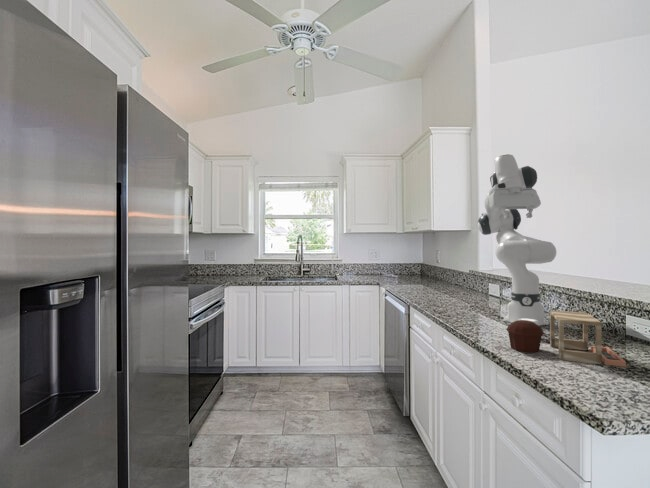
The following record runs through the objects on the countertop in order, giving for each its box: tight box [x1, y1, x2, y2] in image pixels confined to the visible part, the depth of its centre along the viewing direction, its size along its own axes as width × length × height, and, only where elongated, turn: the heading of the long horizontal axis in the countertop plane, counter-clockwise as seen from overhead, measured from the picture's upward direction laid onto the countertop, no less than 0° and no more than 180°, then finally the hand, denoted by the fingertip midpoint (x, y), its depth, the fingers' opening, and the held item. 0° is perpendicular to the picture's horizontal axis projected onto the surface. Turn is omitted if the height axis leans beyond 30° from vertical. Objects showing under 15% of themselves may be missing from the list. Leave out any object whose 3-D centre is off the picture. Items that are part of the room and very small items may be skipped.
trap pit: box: [590, 345, 627, 368], centre depth 114 cm, size 16×5×2 cm, turn 156°
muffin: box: [506, 320, 545, 354], centre depth 123 cm, size 12×11×10 cm
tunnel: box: [549, 309, 603, 365], centre depth 117 cm, size 16×11×13 cm
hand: (518, 217), depth 144 cm, fingers open, 8 cm apart
